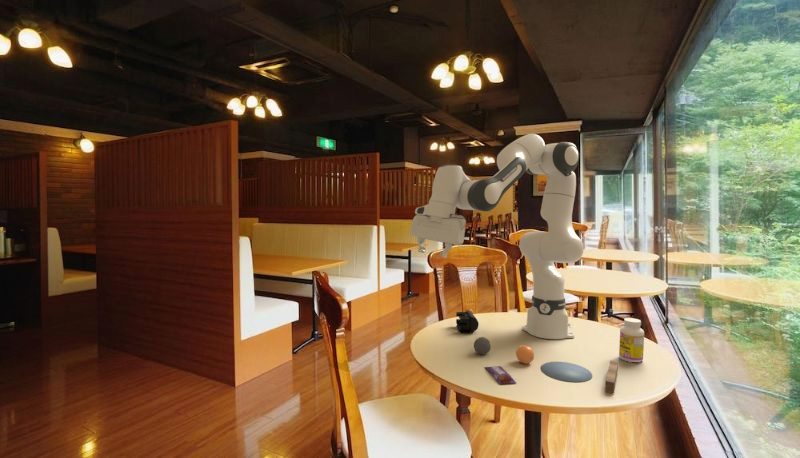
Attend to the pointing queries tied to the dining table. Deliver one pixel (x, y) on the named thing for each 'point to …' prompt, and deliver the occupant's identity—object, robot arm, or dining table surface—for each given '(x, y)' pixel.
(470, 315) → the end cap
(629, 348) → the supplement bottle
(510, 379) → the snack package
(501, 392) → the dining table surface
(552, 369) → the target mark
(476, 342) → the dark gray ball
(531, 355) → the object ball
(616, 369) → the wall
